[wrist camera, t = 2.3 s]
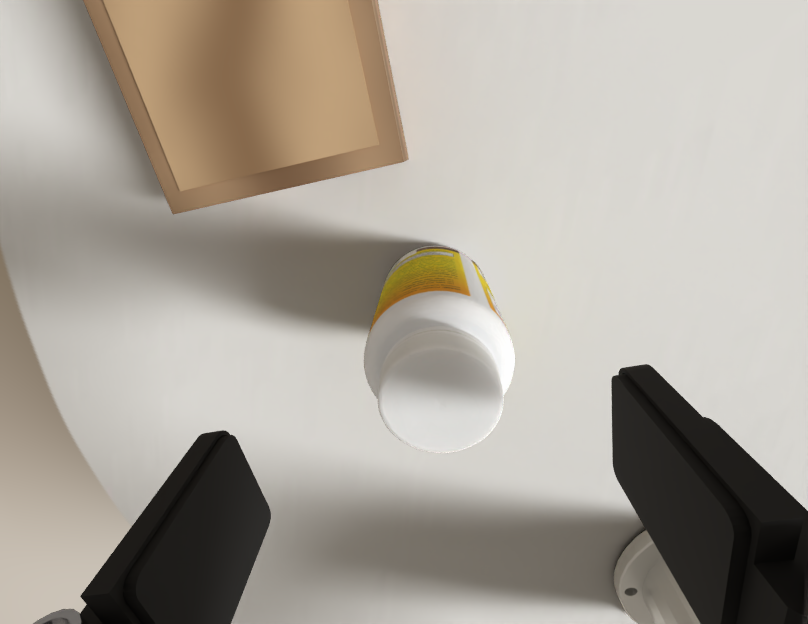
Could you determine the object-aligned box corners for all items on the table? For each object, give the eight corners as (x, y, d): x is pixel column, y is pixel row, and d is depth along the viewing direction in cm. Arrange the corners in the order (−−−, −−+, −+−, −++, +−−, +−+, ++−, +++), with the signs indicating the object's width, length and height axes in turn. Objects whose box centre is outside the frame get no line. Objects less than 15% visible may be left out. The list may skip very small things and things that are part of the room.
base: (356, -108, 16) (332, -191, 12) (408, 159, 19) (403, 161, 15) (130, -35, 17) (43, -88, 13) (218, 202, 21) (170, 214, 17)
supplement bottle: (364, 301, 22) (316, 413, 13) (426, 221, 20) (425, 284, 11) (442, 356, 23) (451, 499, 14) (508, 285, 21) (571, 394, 12)
